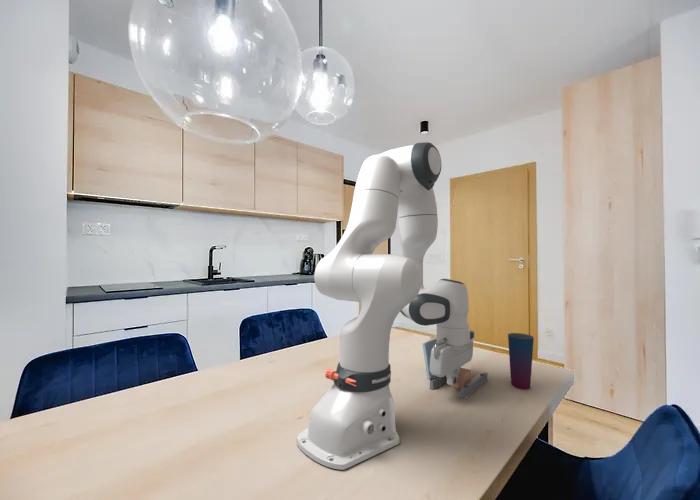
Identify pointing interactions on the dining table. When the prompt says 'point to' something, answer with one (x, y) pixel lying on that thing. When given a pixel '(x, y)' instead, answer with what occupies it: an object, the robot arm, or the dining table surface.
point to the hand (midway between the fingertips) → (452, 383)
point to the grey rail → (467, 388)
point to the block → (462, 378)
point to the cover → (428, 356)
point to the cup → (520, 359)
